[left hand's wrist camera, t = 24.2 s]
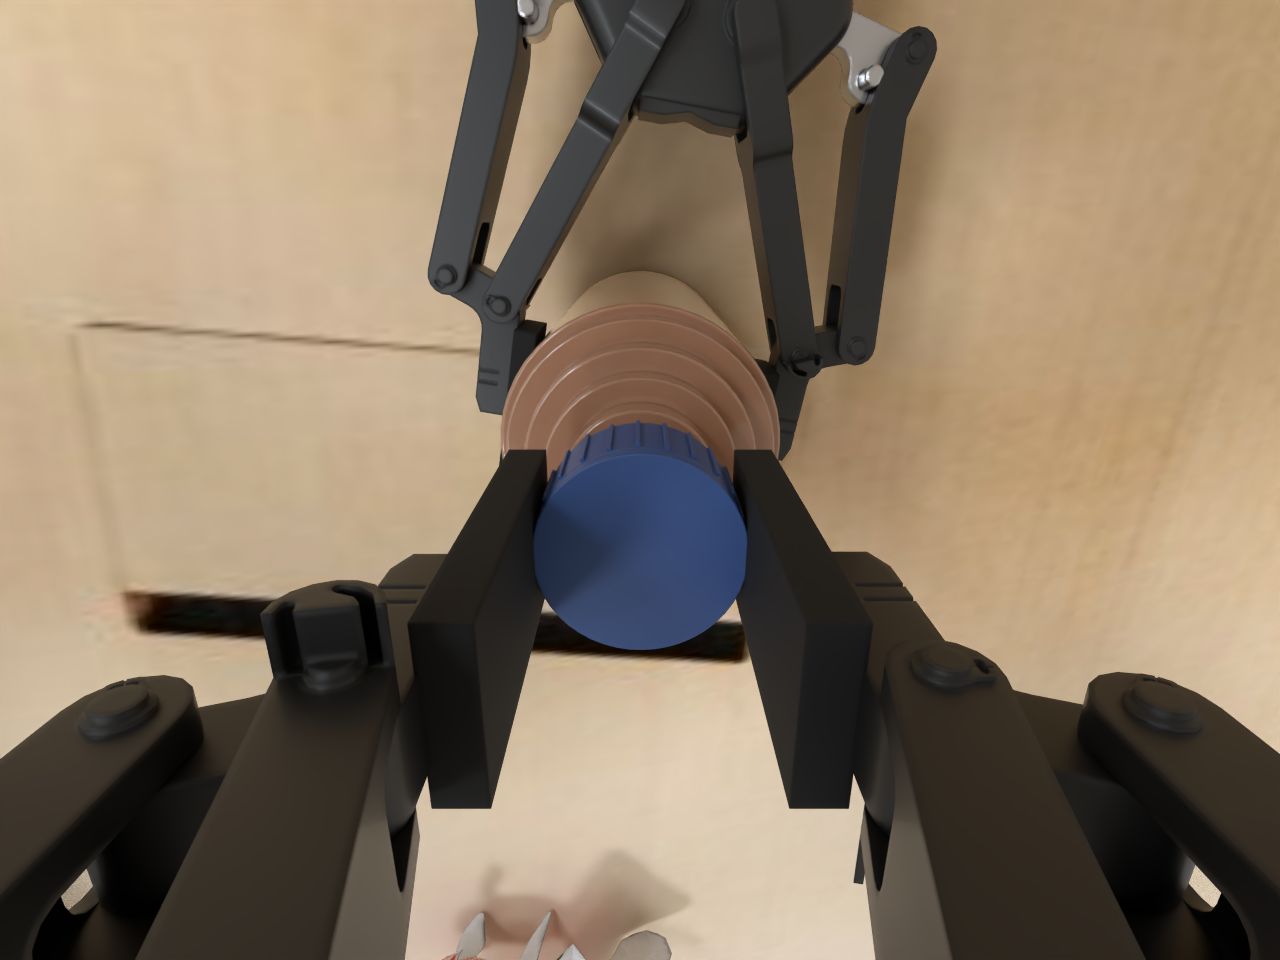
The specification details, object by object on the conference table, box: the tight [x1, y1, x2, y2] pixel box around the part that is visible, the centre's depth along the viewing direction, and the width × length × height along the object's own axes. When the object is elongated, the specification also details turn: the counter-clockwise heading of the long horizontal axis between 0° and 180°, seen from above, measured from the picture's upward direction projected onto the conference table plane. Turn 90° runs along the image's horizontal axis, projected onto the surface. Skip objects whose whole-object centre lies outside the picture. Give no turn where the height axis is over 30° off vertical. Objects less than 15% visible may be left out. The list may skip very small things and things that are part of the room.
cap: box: [533, 420, 747, 650], centre depth 13 cm, size 4×4×2 cm
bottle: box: [501, 271, 780, 483], centre depth 22 cm, size 8×8×19 cm
